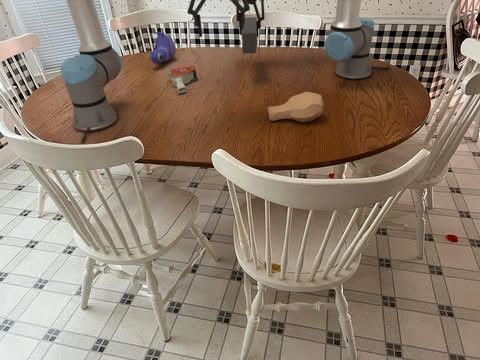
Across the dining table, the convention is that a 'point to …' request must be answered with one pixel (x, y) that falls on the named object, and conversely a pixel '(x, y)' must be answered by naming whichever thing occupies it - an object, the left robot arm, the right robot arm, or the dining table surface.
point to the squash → (298, 108)
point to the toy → (162, 49)
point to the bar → (249, 35)
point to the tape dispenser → (181, 77)
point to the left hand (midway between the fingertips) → (220, 35)
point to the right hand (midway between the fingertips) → (251, 36)
